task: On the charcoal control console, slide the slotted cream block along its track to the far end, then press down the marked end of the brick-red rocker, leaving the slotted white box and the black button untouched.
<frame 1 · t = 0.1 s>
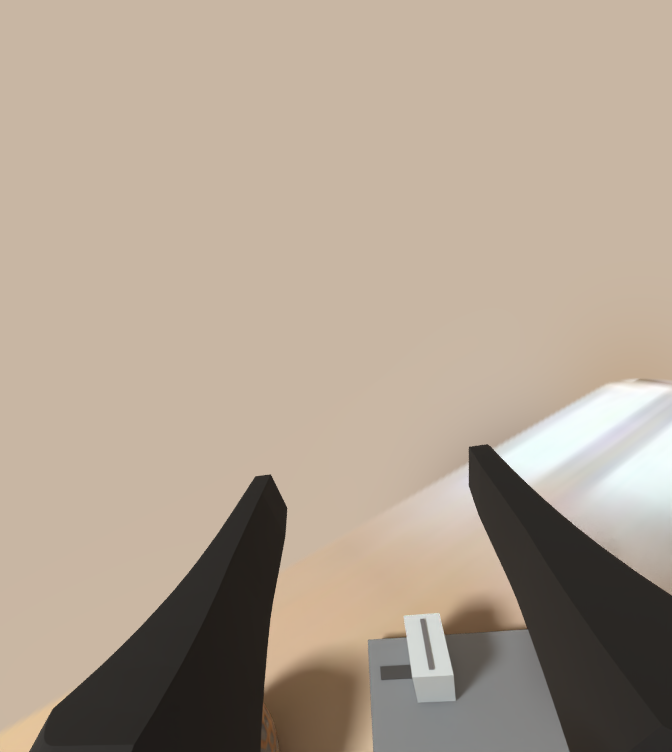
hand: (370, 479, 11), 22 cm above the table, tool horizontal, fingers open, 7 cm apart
slotted white box: (428, 656, 21), point 4 cm above the table, slide at 0.0 cm
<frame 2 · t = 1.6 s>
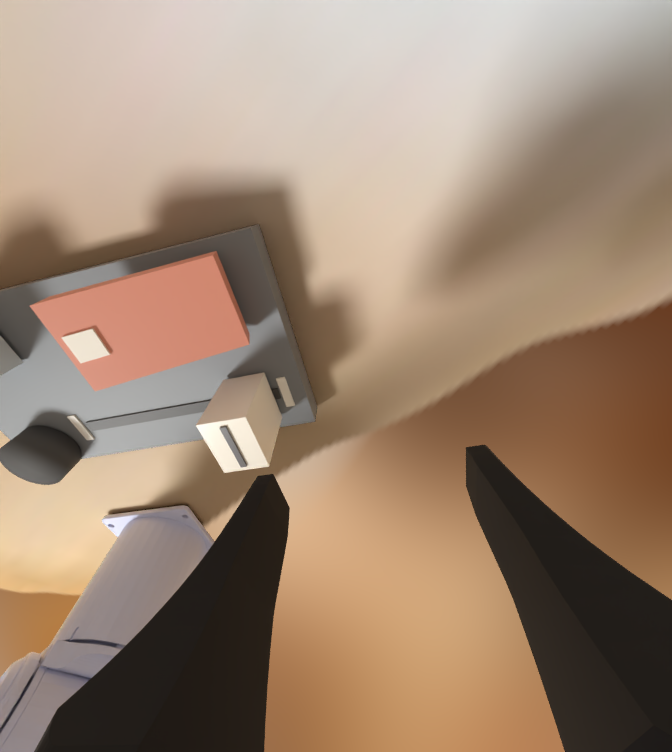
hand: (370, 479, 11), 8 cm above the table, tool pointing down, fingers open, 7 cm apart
console: (133, 362, 19), on the table
rocker: (154, 322, 14), point 4 cm above the table, hinge at 15.0°
button: (42, 455, 20), point 2 cm above the table, slide at 0.0 cm
slotted cream block: (244, 421, 16), point 4 cm above the table, slide at 0.0 cm
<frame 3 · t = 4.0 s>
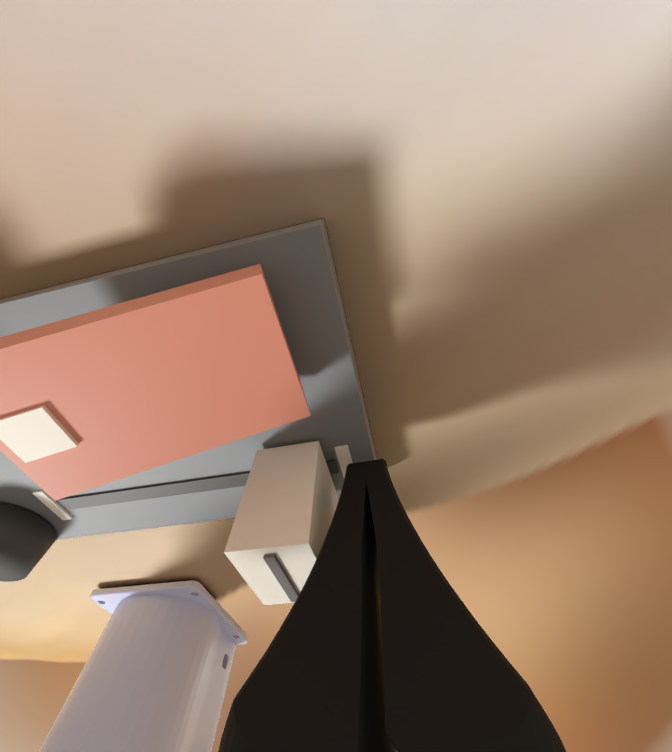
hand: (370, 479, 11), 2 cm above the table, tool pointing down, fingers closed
console: (126, 416, 13), on the table
rocker: (155, 384, 8), point 4 cm above the table, hinge at 15.0°
slotted cream block: (292, 519, 11), point 4 cm above the table, slide at 0.0 cm, touching gripper
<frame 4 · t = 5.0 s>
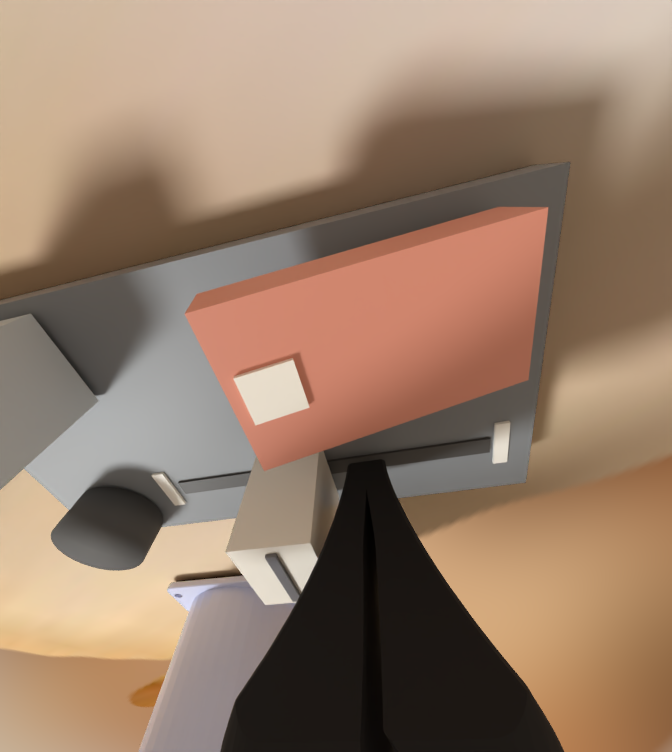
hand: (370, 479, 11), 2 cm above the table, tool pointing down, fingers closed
console: (254, 394, 12), on the table
rocker: (380, 342, 7), point 4 cm above the table, hinge at 15.0°
button: (111, 529, 14), point 2 cm above the table, slide at 0.0 cm
slotted cream block: (293, 519, 11), point 4 cm above the table, slide at 5.8 cm, touching gripper
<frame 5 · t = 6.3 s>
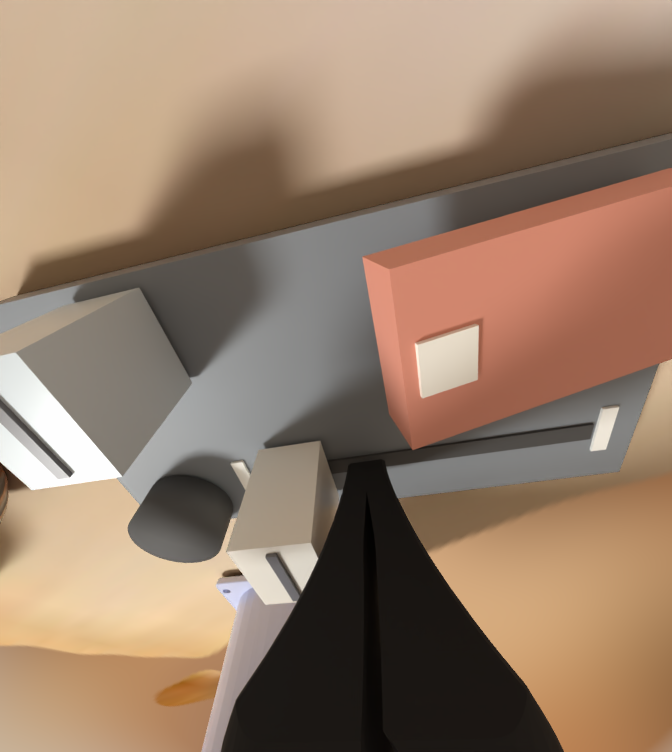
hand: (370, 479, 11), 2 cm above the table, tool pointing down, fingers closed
console: (340, 379, 12), on the table
rocker: (540, 312, 7), point 4 cm above the table, hinge at 15.0°
slotted white box: (88, 381, 8), point 4 cm above the table, slide at 0.0 cm
button: (184, 520, 13), point 2 cm above the table, slide at 0.0 cm
slotted cream block: (294, 519, 11), point 4 cm above the table, slide at 9.2 cm, touching gripper
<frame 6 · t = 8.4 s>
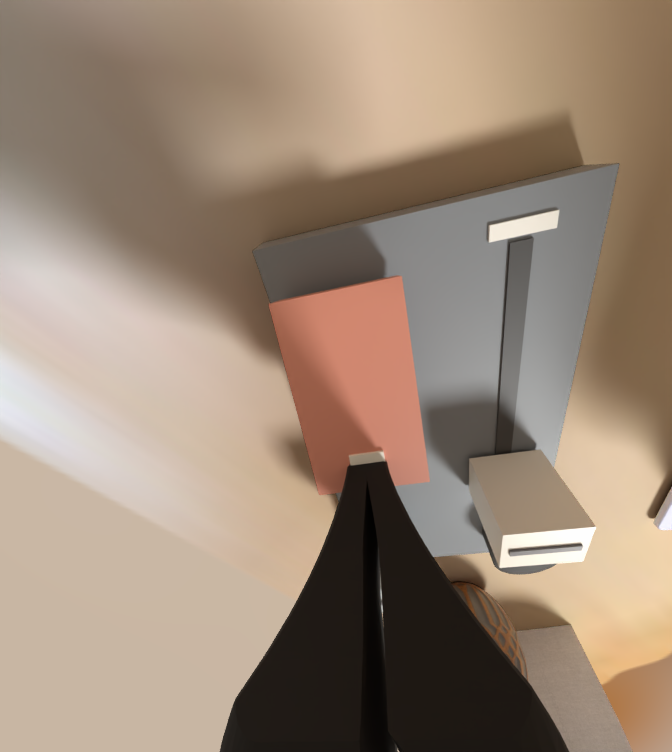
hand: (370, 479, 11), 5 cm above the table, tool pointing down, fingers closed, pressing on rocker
console: (429, 423, 16), on the table
rocker: (355, 392, 11), point 4 cm above the table, hinge at 14.2°, touching gripper
grey rectangular block: (531, 634, 30), on the table
vase: (455, 590, 26), on the table
slotted white box: (384, 560, 16), point 4 cm above the table, slide at 0.0 cm
button: (521, 542, 17), point 2 cm above the table, slide at 0.0 cm
slotted cream block: (521, 506, 14), point 4 cm above the table, slide at 9.2 cm
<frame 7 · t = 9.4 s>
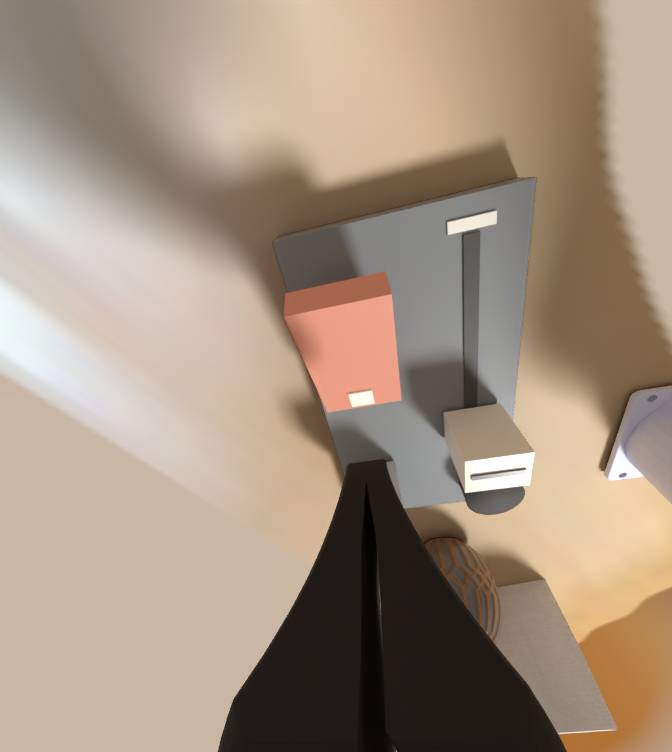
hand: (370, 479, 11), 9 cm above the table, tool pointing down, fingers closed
console: (412, 386, 19), on the table
rocker: (351, 355, 14), point 4 cm above the table, hinge at -20.0°
grey rectangular block: (511, 590, 34), on the table
vase: (441, 546, 29), on the table
slotted white box: (375, 500, 20), point 4 cm above the table, slide at 0.0 cm
button: (490, 487, 21), point 2 cm above the table, slide at 0.0 cm
slotted cream block: (483, 446, 17), point 4 cm above the table, slide at 9.2 cm
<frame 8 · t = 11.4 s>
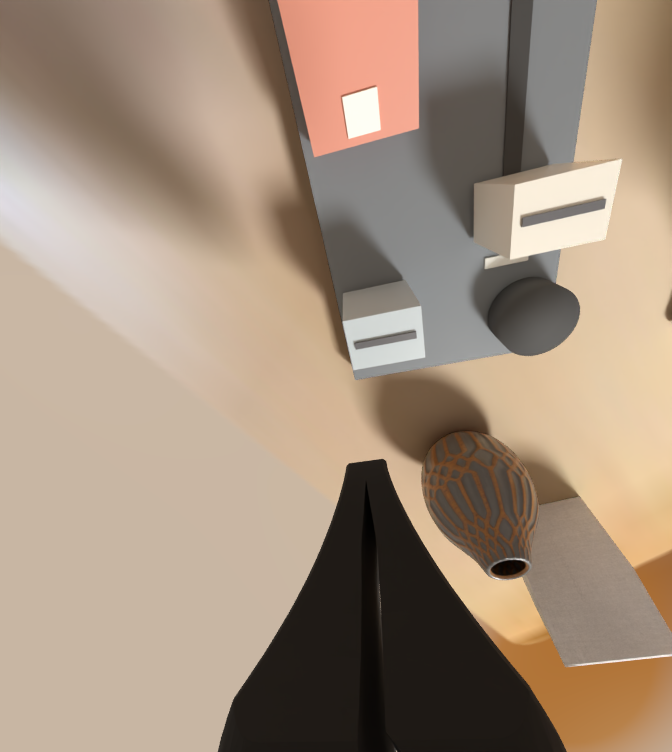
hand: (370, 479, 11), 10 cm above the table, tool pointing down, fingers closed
console: (430, 165, 15), on the table
rocker: (346, 1, 9), point 4 cm above the table, hinge at -19.9°
grey rectangular block: (538, 515, 29), on the table
vase: (457, 448, 24), on the table
slotted white box: (380, 323, 15), point 4 cm above the table, slide at 0.0 cm
button: (530, 317, 16), point 2 cm above the table, slide at 0.0 cm
slotted cream block: (533, 208, 12), point 4 cm above the table, slide at 9.2 cm
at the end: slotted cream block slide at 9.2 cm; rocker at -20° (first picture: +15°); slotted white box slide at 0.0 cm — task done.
